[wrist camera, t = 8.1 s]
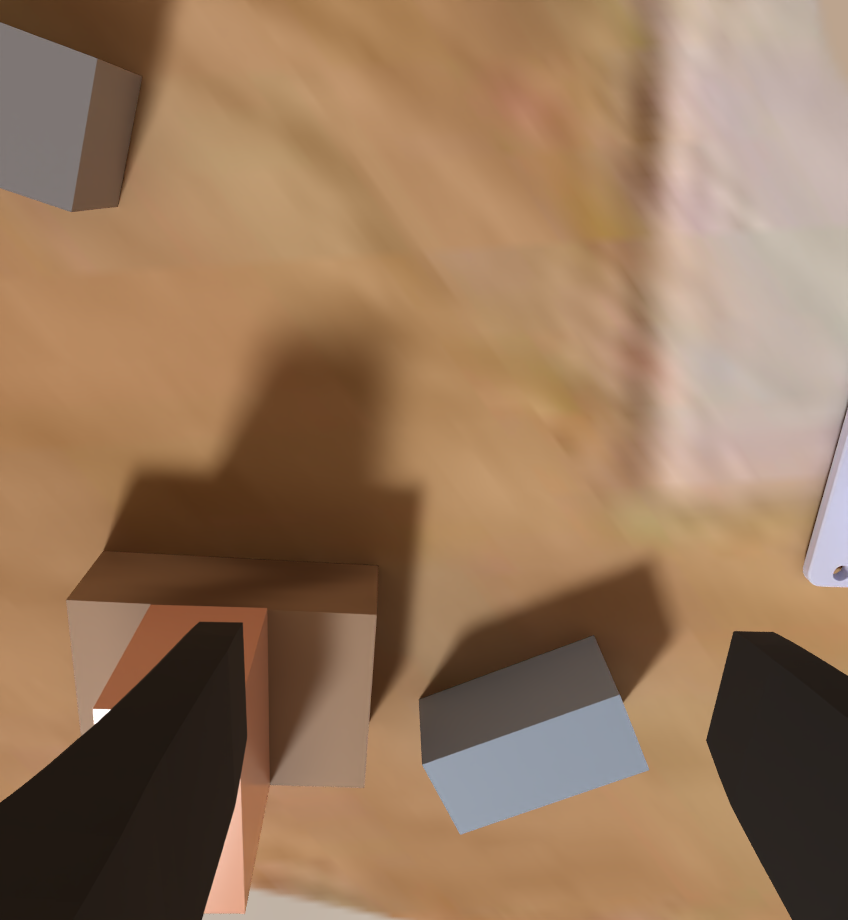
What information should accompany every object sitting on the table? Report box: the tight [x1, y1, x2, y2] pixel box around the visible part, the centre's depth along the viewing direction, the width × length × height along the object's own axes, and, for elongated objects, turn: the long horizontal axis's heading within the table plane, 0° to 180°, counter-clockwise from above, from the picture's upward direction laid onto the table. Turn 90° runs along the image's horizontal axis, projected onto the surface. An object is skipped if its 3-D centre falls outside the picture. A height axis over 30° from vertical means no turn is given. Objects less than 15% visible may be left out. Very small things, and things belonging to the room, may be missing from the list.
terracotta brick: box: [93, 605, 270, 914], centre depth 18 cm, size 3×6×4 cm, turn 176°
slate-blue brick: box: [419, 635, 649, 834], centre depth 23 cm, size 6×3×3 cm, turn 113°
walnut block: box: [66, 551, 378, 788], centre depth 22 cm, size 8×6×3 cm
